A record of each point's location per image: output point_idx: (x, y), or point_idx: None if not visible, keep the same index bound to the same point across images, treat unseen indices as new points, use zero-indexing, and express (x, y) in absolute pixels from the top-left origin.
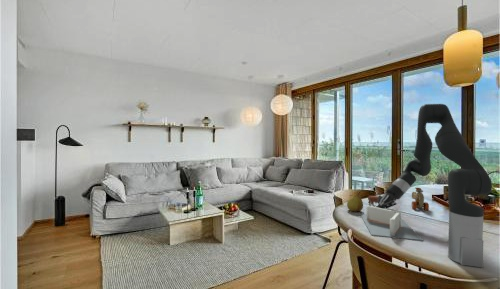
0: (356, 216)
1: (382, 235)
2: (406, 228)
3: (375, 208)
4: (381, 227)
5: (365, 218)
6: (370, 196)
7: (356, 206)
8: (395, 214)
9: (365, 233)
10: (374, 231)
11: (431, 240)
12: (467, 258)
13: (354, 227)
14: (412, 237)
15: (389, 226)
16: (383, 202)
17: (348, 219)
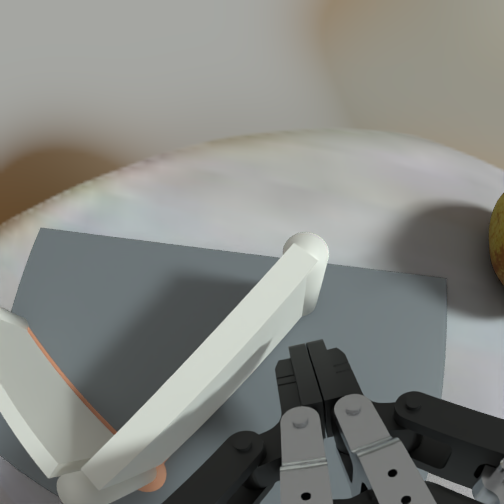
0: (383, 236)
1: (24, 276)
2: None
3: (231, 316)
4: (115, 330)
5: (323, 284)
6: None
7: (499, 235)
8: (8, 401)
9: (65, 209)
10: (65, 256)
11: (2, 487)
12: None
13: (141, 174)
14: (3, 418)
15: (138, 403)
16: (296, 463)
17: (291, 167)
